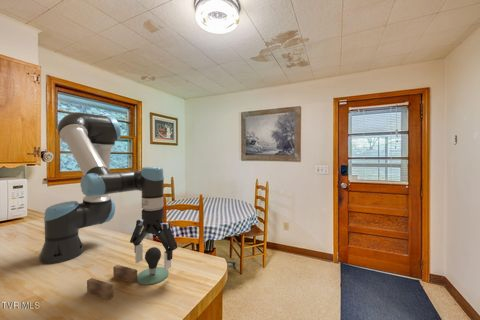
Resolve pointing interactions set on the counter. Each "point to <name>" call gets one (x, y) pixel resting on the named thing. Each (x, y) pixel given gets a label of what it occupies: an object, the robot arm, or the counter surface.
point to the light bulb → (152, 259)
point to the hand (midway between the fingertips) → (153, 264)
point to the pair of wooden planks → (105, 288)
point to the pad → (152, 276)
